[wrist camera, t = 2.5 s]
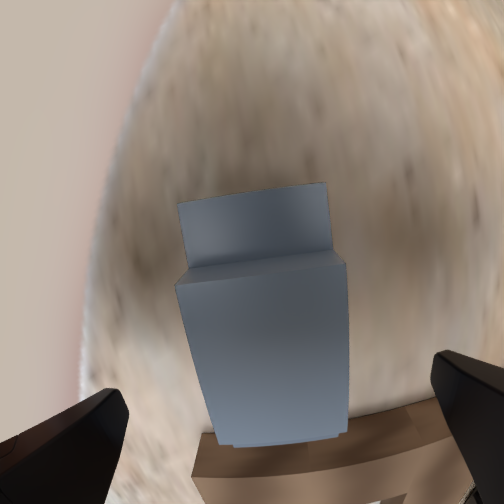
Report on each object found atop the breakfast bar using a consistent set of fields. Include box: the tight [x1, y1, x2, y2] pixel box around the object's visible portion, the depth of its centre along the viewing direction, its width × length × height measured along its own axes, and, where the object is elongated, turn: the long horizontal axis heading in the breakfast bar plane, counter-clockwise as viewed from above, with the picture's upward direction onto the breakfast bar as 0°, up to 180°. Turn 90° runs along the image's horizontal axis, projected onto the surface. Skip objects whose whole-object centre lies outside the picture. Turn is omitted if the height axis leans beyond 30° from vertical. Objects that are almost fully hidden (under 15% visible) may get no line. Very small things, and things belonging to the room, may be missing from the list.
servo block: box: [175, 182, 349, 448], centre depth 11 cm, size 4×10×6 cm, turn 8°
